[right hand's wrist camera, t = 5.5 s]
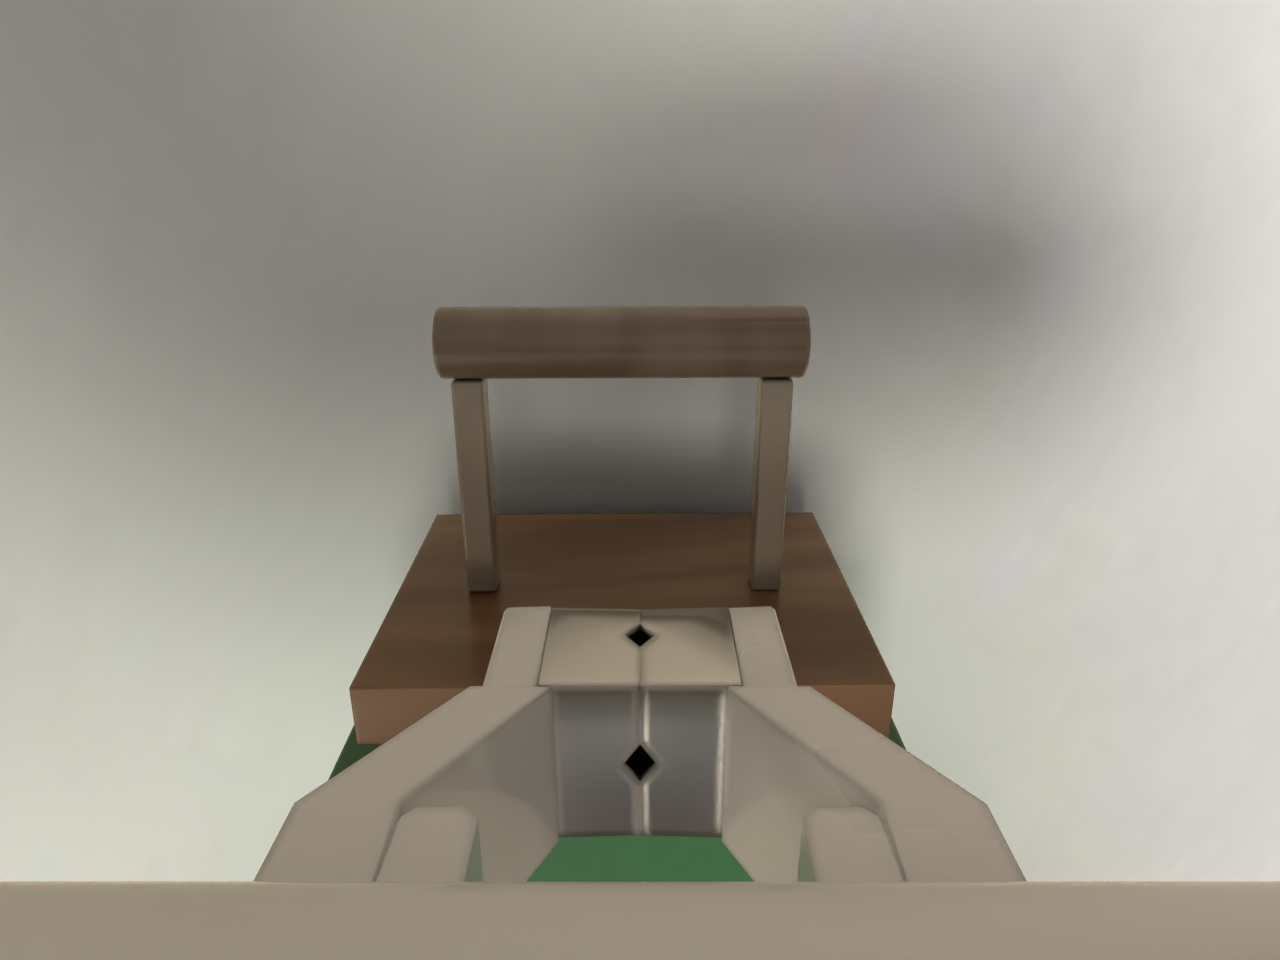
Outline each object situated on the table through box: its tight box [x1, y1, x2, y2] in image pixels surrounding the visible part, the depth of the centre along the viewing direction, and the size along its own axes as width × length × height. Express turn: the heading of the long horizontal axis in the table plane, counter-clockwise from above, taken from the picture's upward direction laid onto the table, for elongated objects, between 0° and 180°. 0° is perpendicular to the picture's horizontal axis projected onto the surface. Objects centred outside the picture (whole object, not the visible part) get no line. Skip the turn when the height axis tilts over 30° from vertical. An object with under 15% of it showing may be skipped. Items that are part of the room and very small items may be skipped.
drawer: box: [349, 306, 895, 745], centre depth 21 cm, size 26×9×7 cm, turn 0°
